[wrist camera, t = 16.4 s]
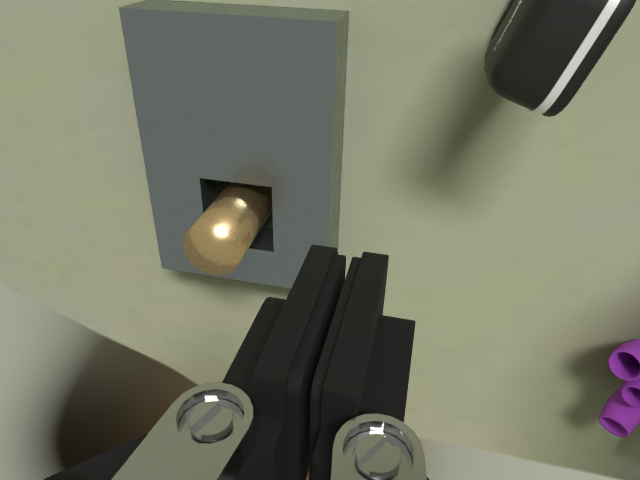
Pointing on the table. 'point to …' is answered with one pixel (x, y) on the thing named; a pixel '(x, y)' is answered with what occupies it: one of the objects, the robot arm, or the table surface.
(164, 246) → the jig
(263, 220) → the tan cylinder
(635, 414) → the purple tube coral
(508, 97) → the battery charger
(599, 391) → the table surface
